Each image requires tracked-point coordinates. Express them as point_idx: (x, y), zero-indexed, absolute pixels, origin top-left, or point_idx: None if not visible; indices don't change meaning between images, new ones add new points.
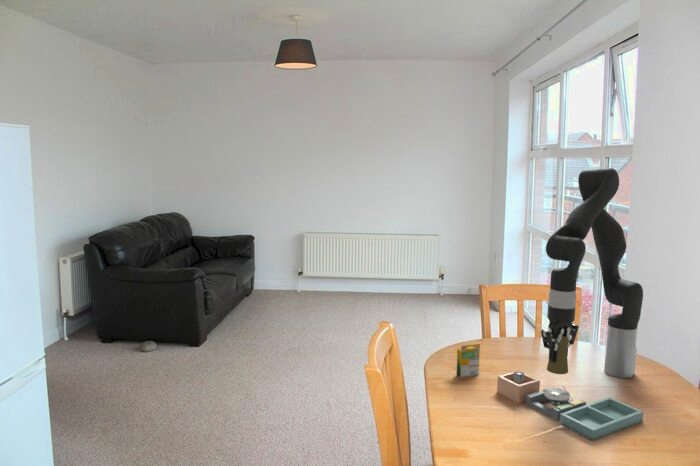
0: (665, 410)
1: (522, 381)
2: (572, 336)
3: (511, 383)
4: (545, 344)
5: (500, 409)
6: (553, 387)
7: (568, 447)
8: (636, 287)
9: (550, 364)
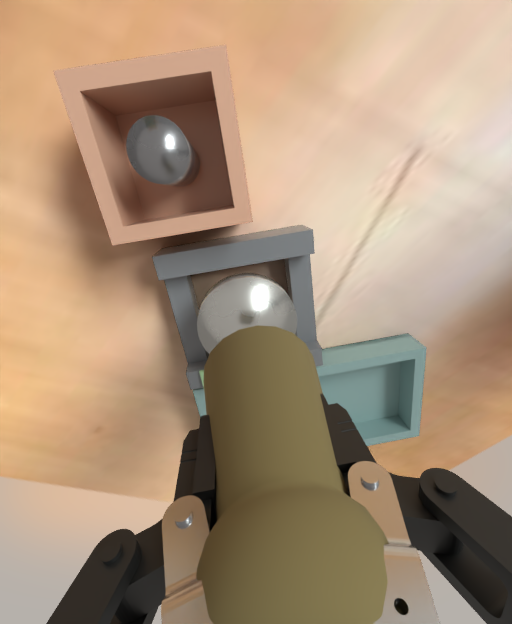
0: (508, 390)
1: (172, 184)
2: (490, 621)
3: (96, 192)
4: (92, 590)
5: (52, 240)
6: (273, 283)
7: (142, 459)
8: None
9: (206, 405)
